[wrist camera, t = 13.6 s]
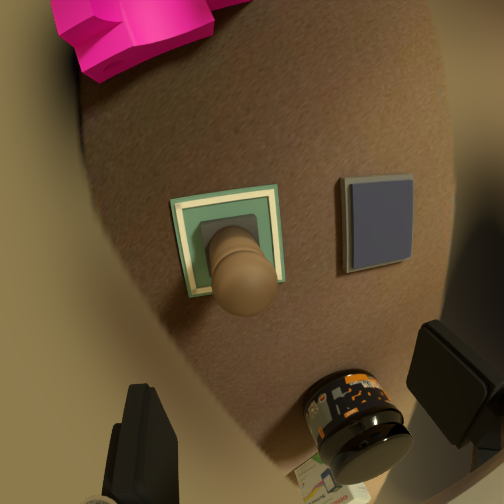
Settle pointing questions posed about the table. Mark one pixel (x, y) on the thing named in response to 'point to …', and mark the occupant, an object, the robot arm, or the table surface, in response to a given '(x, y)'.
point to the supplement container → (355, 426)
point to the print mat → (222, 206)
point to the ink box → (327, 485)
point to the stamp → (238, 265)
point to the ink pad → (376, 220)
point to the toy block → (131, 30)
